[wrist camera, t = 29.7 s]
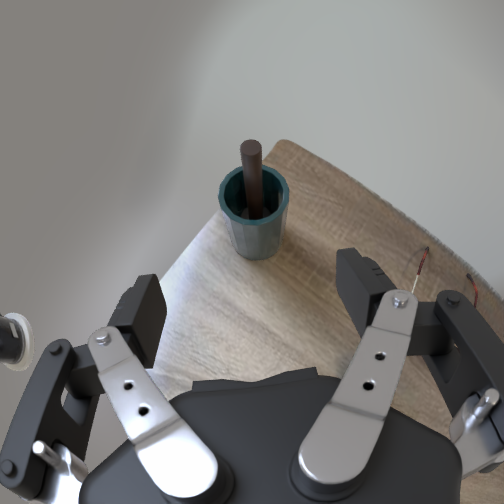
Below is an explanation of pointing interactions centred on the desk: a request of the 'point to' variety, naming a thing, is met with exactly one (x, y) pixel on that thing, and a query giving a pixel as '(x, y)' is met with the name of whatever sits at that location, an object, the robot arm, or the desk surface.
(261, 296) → the desk surface
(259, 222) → the pencil holder
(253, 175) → the brush
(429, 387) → the desk surface
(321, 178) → the desk surface
